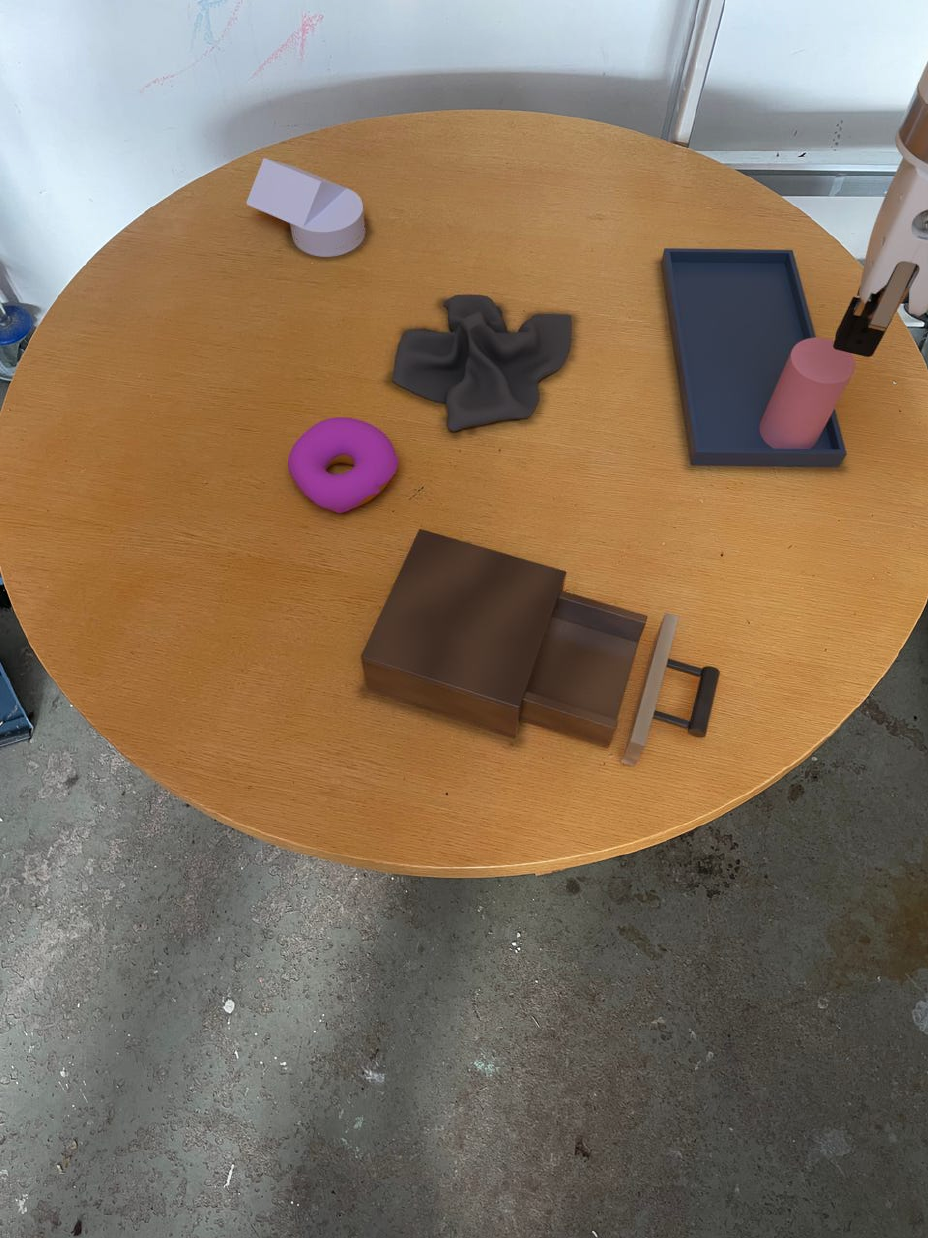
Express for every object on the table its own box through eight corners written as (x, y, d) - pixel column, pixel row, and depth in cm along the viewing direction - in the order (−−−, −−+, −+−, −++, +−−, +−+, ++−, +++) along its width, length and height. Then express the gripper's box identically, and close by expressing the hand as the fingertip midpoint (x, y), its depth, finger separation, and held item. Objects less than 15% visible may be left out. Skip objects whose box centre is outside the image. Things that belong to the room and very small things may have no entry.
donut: (277, 467, 88) (268, 437, 84) (361, 423, 91) (357, 392, 87) (329, 535, 84) (323, 506, 80) (416, 487, 87) (414, 457, 83)
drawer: (717, 657, 77) (732, 631, 73) (688, 784, 71) (702, 764, 67) (534, 602, 80) (538, 574, 75) (491, 720, 74) (493, 697, 70)
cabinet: (559, 609, 80) (566, 571, 75) (514, 739, 74) (519, 708, 68) (422, 568, 82) (419, 527, 77) (367, 691, 76) (360, 656, 70)
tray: (839, 467, 89) (847, 453, 87) (690, 465, 89) (695, 451, 87) (786, 264, 104) (792, 249, 102) (660, 262, 104) (664, 247, 102)
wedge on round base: (251, 228, 107) (336, 266, 104) (239, 177, 101) (329, 215, 98) (296, 190, 111) (379, 225, 107) (287, 138, 105) (375, 174, 102)
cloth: (486, 457, 89) (488, 415, 84) (356, 371, 95) (350, 327, 90) (612, 340, 98) (621, 295, 92) (485, 268, 104) (487, 222, 98)
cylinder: (821, 418, 91) (859, 346, 83) (813, 460, 88) (851, 389, 80) (764, 404, 92) (796, 331, 84) (754, 445, 89) (786, 373, 81)
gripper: (1021, 207, 51) (888, 422, 67) (1030, 76, 58) (908, 299, 74) (891, 180, 53) (791, 398, 68) (916, 55, 60) (820, 279, 75)
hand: (852, 346), depth 71 cm, fingers closed
